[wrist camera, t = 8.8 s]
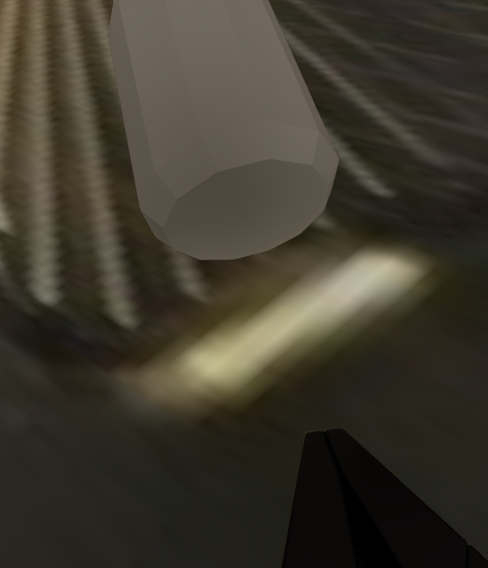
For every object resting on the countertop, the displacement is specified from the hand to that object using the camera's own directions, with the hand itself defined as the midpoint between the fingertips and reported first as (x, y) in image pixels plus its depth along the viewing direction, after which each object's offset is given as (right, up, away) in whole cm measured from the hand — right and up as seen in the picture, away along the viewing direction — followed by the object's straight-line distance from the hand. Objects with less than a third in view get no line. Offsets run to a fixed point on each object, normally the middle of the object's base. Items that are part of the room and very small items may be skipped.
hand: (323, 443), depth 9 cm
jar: (-2, +7, +10) cm, 12 cm away
